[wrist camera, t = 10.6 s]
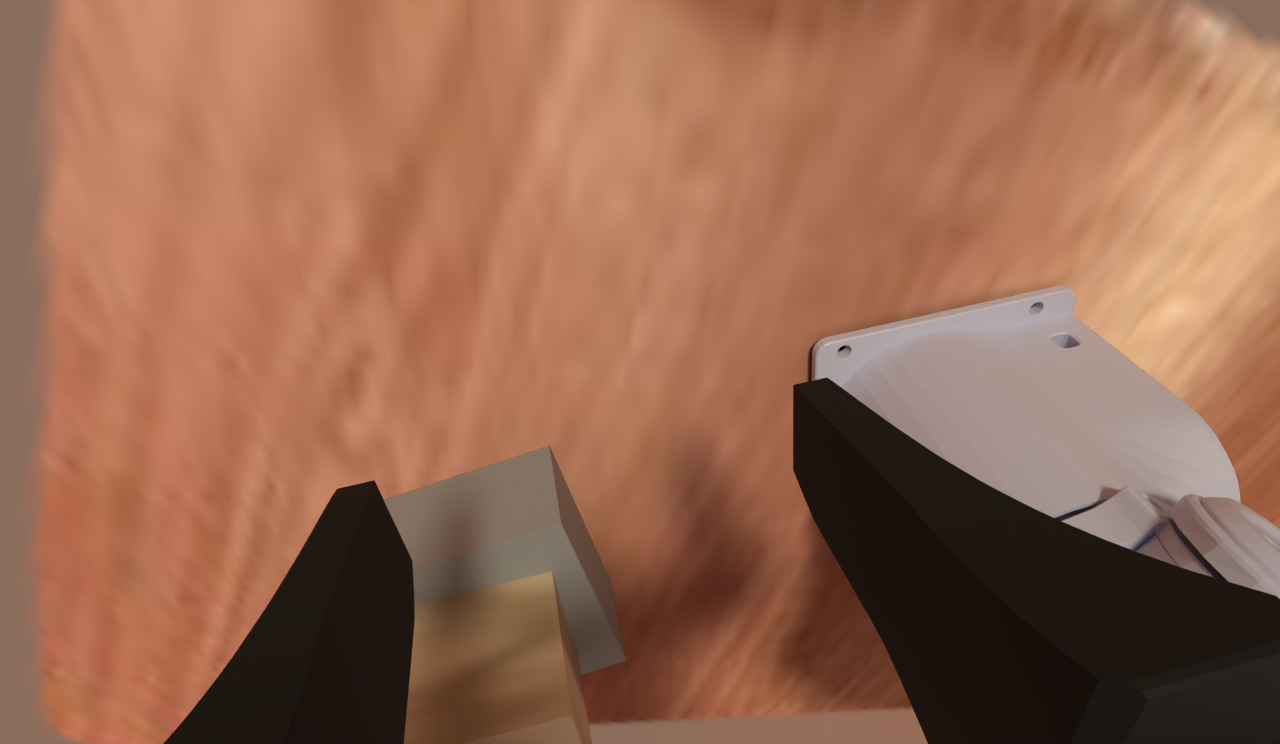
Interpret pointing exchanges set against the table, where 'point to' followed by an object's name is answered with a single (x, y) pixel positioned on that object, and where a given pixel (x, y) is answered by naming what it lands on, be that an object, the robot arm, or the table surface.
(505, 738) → the maple cube
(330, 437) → the table surface
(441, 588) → the slate base block
